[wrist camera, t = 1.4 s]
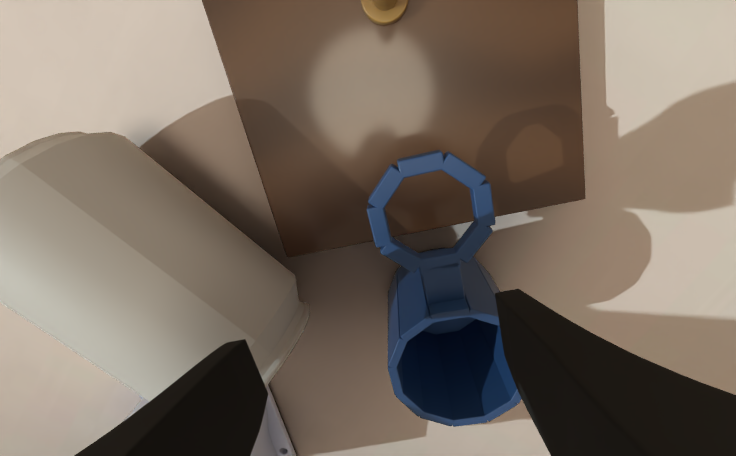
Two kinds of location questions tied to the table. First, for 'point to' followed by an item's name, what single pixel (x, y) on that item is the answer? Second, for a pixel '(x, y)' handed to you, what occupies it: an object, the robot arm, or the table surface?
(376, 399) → the table surface
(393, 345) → the cup
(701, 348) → the table surface
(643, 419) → the robot arm
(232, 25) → the peg stand
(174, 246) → the can
